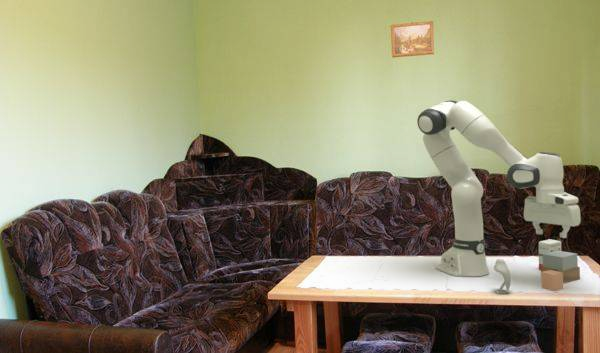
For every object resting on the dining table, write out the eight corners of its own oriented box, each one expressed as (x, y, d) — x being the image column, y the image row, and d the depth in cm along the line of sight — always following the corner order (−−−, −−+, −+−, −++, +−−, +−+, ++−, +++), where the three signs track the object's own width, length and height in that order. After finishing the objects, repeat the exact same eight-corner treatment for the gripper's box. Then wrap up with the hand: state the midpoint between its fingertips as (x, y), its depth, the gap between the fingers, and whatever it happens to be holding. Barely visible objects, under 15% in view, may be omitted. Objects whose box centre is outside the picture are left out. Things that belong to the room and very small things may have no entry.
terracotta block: (541, 288, 175) (541, 271, 175) (550, 285, 177) (550, 269, 177) (554, 291, 171) (553, 274, 170) (563, 289, 173) (563, 272, 173)
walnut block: (541, 279, 187) (540, 266, 187) (558, 275, 191) (557, 262, 191) (562, 284, 179) (562, 271, 179) (579, 279, 183) (579, 266, 183)
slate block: (543, 266, 186) (542, 253, 186) (557, 262, 191) (557, 250, 190) (562, 270, 179) (562, 257, 179) (577, 266, 183) (577, 253, 183)
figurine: (512, 295, 168) (511, 261, 168) (496, 295, 170) (495, 261, 169) (509, 289, 176) (508, 256, 175) (493, 288, 177) (492, 256, 176)
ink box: (549, 272, 195) (548, 243, 194) (538, 270, 199) (537, 241, 198) (562, 268, 199) (561, 240, 198) (551, 266, 203) (550, 238, 203)
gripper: (519, 196, 180) (520, 233, 181) (570, 200, 162) (572, 241, 163) (530, 194, 183) (531, 231, 184) (583, 198, 165) (583, 238, 165)
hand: (551, 235), depth 173 cm, fingers open, 8 cm apart
